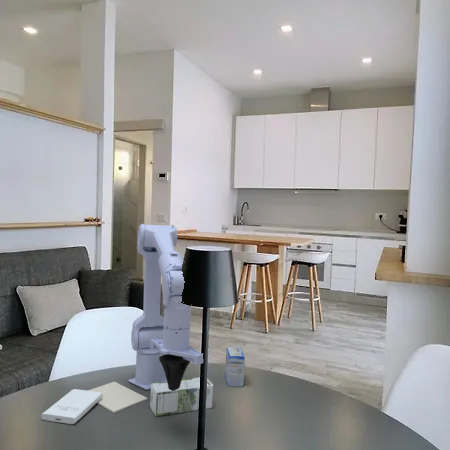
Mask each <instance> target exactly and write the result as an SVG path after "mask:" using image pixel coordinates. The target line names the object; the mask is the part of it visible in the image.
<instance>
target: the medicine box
mask: <svg viewBox="0 0 450 450" xmlns="http://www.w3.org/2000/svg"><path fill="white" fill-rule="evenodd" d="M225 351H226V353H225V368H224V376H225V381H226V384H227V387H229V388H230V387H237V388H238V387H240V388H242V387H244V380H245V361H246V360H245V359H246V358H245V355H244V353H243V350H242V348H241V347H238V346H226V350H225Z"/></svg>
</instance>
